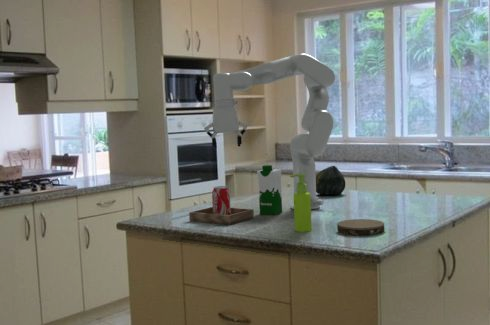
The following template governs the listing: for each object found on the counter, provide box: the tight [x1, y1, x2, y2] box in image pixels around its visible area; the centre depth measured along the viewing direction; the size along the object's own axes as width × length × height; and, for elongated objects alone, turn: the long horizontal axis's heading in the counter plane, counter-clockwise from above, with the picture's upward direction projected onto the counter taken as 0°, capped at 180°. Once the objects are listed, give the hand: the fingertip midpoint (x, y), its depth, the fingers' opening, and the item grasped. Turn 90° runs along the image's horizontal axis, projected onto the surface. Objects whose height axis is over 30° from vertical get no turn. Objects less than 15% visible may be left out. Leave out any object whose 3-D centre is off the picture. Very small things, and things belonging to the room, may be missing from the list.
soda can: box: [211, 185, 231, 215], centre depth 246 cm, size 7×7×12 cm
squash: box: [315, 165, 346, 196], centre depth 300 cm, size 14×15×15 cm
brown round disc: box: [336, 218, 385, 237], centre depth 214 cm, size 16×16×3 cm
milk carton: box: [256, 164, 283, 216], centre depth 256 cm, size 9×9×20 cm
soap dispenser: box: [289, 174, 312, 233], centre depth 218 cm, size 6×7×20 cm
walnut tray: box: [188, 206, 255, 226], centre depth 247 cm, size 20×16×4 cm
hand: (227, 147), depth 249 cm, fingers open, 9 cm apart
